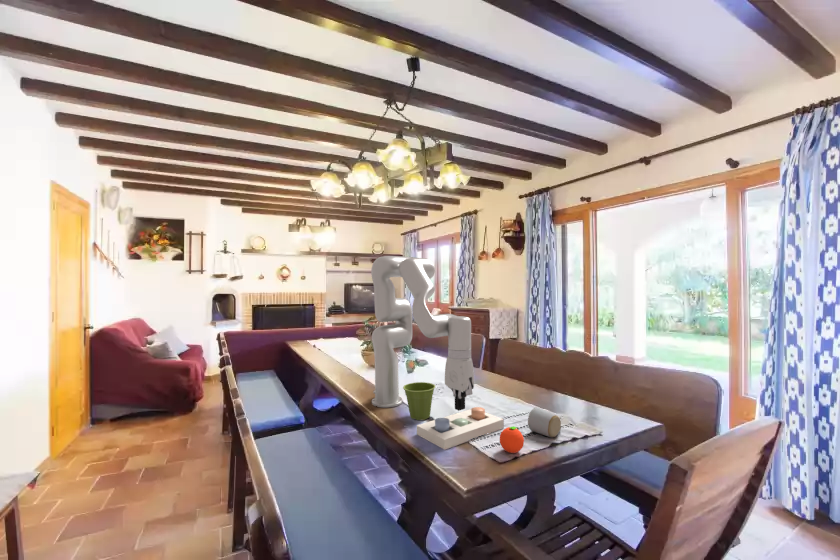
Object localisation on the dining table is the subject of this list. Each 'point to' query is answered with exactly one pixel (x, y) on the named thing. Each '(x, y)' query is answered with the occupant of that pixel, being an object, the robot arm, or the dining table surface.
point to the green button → (461, 422)
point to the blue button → (442, 425)
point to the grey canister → (544, 422)
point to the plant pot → (419, 399)
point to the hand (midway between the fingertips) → (459, 408)
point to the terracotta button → (478, 413)
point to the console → (459, 429)
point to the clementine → (511, 439)
